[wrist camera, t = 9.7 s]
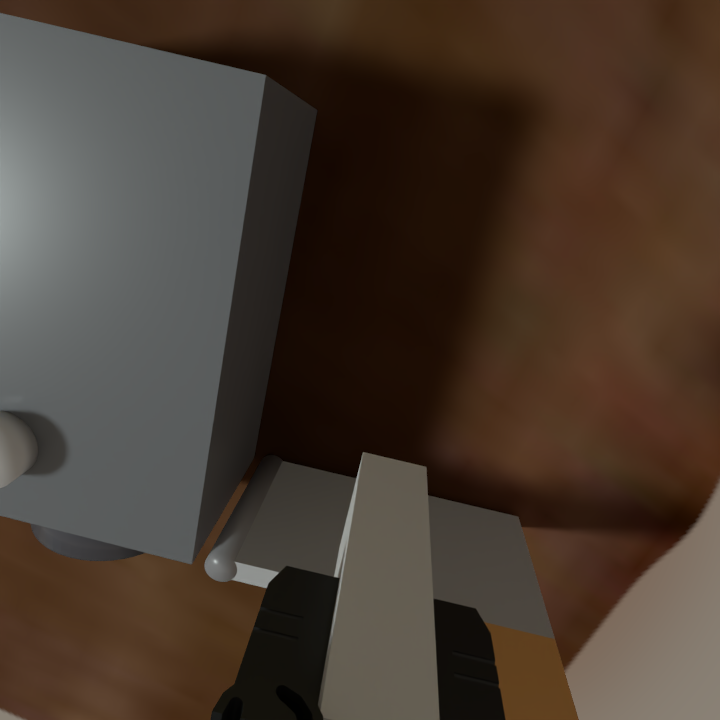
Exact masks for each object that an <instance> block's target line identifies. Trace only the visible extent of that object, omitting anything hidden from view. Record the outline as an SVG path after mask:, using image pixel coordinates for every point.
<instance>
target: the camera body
mask: <svg viewBox="0 0 720 720" xmlns="http://www.w3.org/2000/svg"><path fill="white" fill-rule="evenodd" d="M316 115H317V110H316V109H315V108H313V107H312V106H311V105H309V104H308V103H306V102H305V101H303V100H302V99H300V98H299V97H297V96H296V95H294V94H293V93H291V92H290V91H289V90H287V89H286V88H284V87H283V86H281V85H280V84H278V83H277V82H275V81H274V80H272V79H271V78H270V77H268V76H267V75H264V74H259V73H255V72H251V71H246V70H242V69H238V68H234V67H229V66H225V65H221V64H216V63H212V62H208V61H204V60H199V59H195V58H191V57H187V56H182V55H178V54H174V53H169V52H165V51H161V50H157V49H152V48H148V47H144V46H139V45H135V44H131V43H127V42H122V41H118V40H114V39H109V38H105V37H101V36H97V35H92V34H88V33H84V32H79V31H75V30H71V29H67V28H62V27H58V26H54V25H49V24H45V23H41V22H37V21H32V20H28V19H24V18H19V17H15V16H11V15H7V14H2V13H0V516H4V517H8V518H12V519H16V520H20V521H24V522H28V523H31V528H32V531H33V533H34V535H35V537H36V538H37V539H38V540H39V542H41V543H42V544H43V545H44V546H45V547H47V548H49V549H50V550H52V551H54V552H56V553H58V554H61V555H64V556H67V557H70V558H75V559H80V560H89V561H109V560H119V559H125V558H129V557H134V556H137V555H140V554H143V553H149V554H153V555H157V556H161V557H164V558H168V559H172V560H176V561H180V562H184V563H188V564H192V563H193V561H194V560H195V558H196V556H197V555H198V553H199V551H200V549H201V548H202V546H203V544H204V543H205V541H206V539H207V538H208V536H209V534H210V532H211V531H212V529H213V527H214V526H215V524H216V522H217V521H218V519H219V517H220V515H221V514H222V512H223V510H224V509H225V507H226V505H227V503H228V502H229V500H230V498H231V497H232V495H233V493H234V492H235V490H236V488H237V486H238V485H239V483H240V481H241V480H242V478H243V476H244V475H245V473H246V471H247V469H248V468H249V466H250V464H251V463H252V461H253V459H254V456H255V450H256V445H257V439H258V434H259V428H260V423H261V417H262V412H263V407H264V401H265V396H266V390H267V385H268V379H269V374H270V368H271V363H272V357H273V352H274V346H275V341H276V335H277V330H278V324H279V319H280V313H281V308H282V302H283V297H284V291H285V286H286V280H287V275H288V269H289V264H290V258H291V253H292V247H293V242H294V236H295V231H296V225H297V220H298V214H299V209H300V203H301V198H302V192H303V187H304V181H305V176H306V170H307V165H308V159H309V154H310V148H311V143H312V137H313V132H314V126H315V121H316Z"/></svg>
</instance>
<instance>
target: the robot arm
mask: <svg viewBox="0 0 720 720" xmlns="http://www.w3.org/2000/svg"><path fill="white" fill-rule="evenodd" d="M211 720H506V719H505V713H504V708H503V702H502V696H501V690H500V688H499V678H498V672H497V666H496V665H495V655H494V649H493V643H492V637H491V633H490V631H489V630H488V628H487V626H486V625H485V623H484V621H483V619H482V618H481V616H480V614H479V613H478V611H477V609H476V608H472V607H468V606H464V605H459V604H455V603H451V602H447V601H442V600H438V599H434V598H433V583H432V564H431V545H430V526H429V506H428V487H427V468H426V467H425V466H421V465H416V464H412V463H408V462H404V461H399V460H395V459H391V458H386V457H382V456H378V455H374V454H369V453H365V452H363V454H362V458H361V462H360V466H359V470H358V474H357V478H356V482H355V486H354V491H353V495H352V499H351V503H350V507H349V511H348V515H347V519H346V523H345V527H344V531H343V535H342V539H341V543H340V547H339V553H338V558H337V564H336V569H335V574H334V577H333V576H328V575H324V574H320V573H316V572H312V571H307V570H303V569H299V568H295V567H290V566H286V567H285V568H283V569H282V570H281V571H280V572H279V573H278V574H277V575H276V576H275V577H274V578H273V579H272V580H271V581H270V582H269V583H268V586H267V589H266V592H265V595H264V598H263V601H262V604H261V607H260V611H259V613H258V616H257V619H256V622H255V625H254V628H253V632H252V634H251V637H250V640H249V643H248V646H247V648H246V651H245V654H244V657H243V660H242V663H241V666H240V669H239V672H238V675H237V678H236V681H235V684H234V685H233V686H231V687H230V688H229V689H227V690H226V691H225V692H223V694H222V696H221V697H220V699H219V701H218V702H217V704H216V706H215V707H214V709H213V711H212V715H211Z"/></svg>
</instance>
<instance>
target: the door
mask: <svg viewBox="0 0 720 720" xmlns="http://www.w3.org/2000/svg"><path fill="white" fill-rule="evenodd" d="M355 482H356V478H352V477H348V476H344V475H340V474H335V473H331V472H327V471H323V470H319V469H314V468H310V467H306V466H302V465H297V464H293V463H289V462H285V461H282V460H281V459H280V458H279V457H278V456H275V455H267V456H265V457H264V458H263V459H262V460H261V462H260V464H259V465H258V467H257V469H256V471H255V473H254V474H253V476H252V478H251V480H250V482H249V483H248V485H247V487H246V489H245V491H244V492H243V494H242V496H241V498H240V500H239V501H238V503H237V505H236V507H235V509H234V510H233V512H232V514H231V516H230V518H229V519H228V521H227V523H226V525H225V527H224V528H223V530H222V532H221V534H220V535H219V537H218V539H217V541H216V543H215V544H214V546H213V548H212V550H211V552H210V553H209V555H208V557H207V559H206V561H205V565H204V566H205V570H206V572H207V574H208V575H209V576H210V577H211V578H213V579H214V580H217V581H221V582H226V581H230V580H235V581H239V582H243V583H247V584H252V585H256V586H260V587H264V588H267V586H268V583H269V582H270V581H271V580H272V579H273V578H274V577H275V576H276V575H277V574H278V573H279V572H280V571H281V570H282V569H283V568H285V567H286V566H290V567H295V568H299V569H303V570H307V571H312V572H316V573H320V574H324V575H328V576H333V577H334V574H335V569H336V564H337V558H338V553H339V547H340V543H341V539H342V535H343V531H344V527H345V523H346V519H347V515H348V511H349V507H350V503H351V499H352V495H353V491H354V486H355ZM428 506H429V526H430V545H431V564H432V583H433V598H434V599H438V600H442V601H447V602H451V603H455V604H459V605H464V606H468V607H472V608H476V609H477V611H478V613H479V614H480V616H481V618H482V619H483V621H484V623H485V625H486V626H487V628H488V630H489V631H490V633H491V637H492V643H493V649H494V655H495V665H496V666H497V672H498V678H499V688H500V690H501V696H502V702H503V708H504V713H505V719H506V720H579V719H578V716H577V712H576V709H575V706H574V702H573V699H572V696H571V692H570V689H569V686H568V683H567V679H566V675H565V672H564V669H563V665H562V662H561V659H560V655H559V652H558V648H557V645H556V642H555V638H554V635H553V632H552V628H551V625H550V622H549V618H548V615H547V611H546V608H545V605H544V601H543V598H542V595H541V591H540V588H539V585H538V581H537V578H536V574H535V571H534V568H533V564H532V561H531V558H530V554H529V551H528V547H527V544H526V541H525V537H524V534H523V531H522V527H521V524H520V521H519V517H518V516H513V515H509V514H505V513H501V512H497V511H492V510H488V509H484V508H480V507H475V506H471V505H467V504H463V503H458V502H454V501H450V500H446V499H441V498H437V497H433V496H429V495H428Z"/></svg>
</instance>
